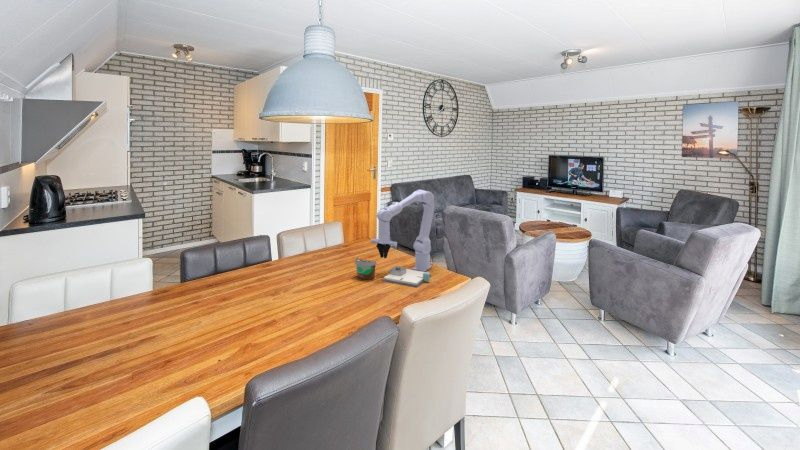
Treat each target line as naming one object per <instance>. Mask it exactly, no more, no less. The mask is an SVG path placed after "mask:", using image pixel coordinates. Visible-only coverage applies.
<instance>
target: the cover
mask: <svg viewBox="0 0 800 450" xmlns="http://www.w3.org/2000/svg"><path fill="white" fill-rule="evenodd" d="M406 269H407V267H402V266H399V265H398V266H394V267H391V268H390V269H389V274H391V275H397V276H402V275H403V274H405V273H406Z"/></svg>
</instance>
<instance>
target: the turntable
mask: <svg viewBox="0 0 800 450" xmlns="http://www.w3.org/2000/svg"><path fill="white" fill-rule="evenodd" d="M430 275H431V272H428V271H420V270H414V269H409V268H406V273H405V274H403V275H402V276H397V275H391V274H390V273H388V274H387V275H385V276H384V277H383V279H386V280H391V281H397V282H402V283H408V284H413V285H417V284H419V283H420V282H421V281H422V280H424V281H425V282H429V281H431V280H430V279H431V277H430Z"/></svg>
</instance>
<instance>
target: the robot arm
mask: <svg viewBox="0 0 800 450" xmlns="http://www.w3.org/2000/svg"><path fill="white" fill-rule="evenodd" d="M434 199H435V195H434V194H433V193H432V192H431V191H429V190H424V189H417V190H415V191H413V192H412V193H411V194H410V195H408V196H406V198H404V199H402V200H401V201H392V203H391V204H390V205H389V206H385V207H384V209H380V210H379V211H378V212H377V214H376V218H377V219H378V238H371V239H370V243H371V244H376V245H375V246H376V249H377V250H378V252H379V256H380V258H381V259H382V258H383V259H386V258H388V254H389V251H390V249H391V247H392V246H393V247H397V246H398V242H397V241H393V240H390V221H391V220H392V218H393V217H395V216H397V215H398V214H399V213H402V212H403V208H406V207H407V206H409V205H411V204H413V203H414V202H416V203H417V202H419V203H421V206H423V213H422V217H421V218H422V219H421V224H420V230H419V235H418V236H417V237H416V238H415V241H414V242H413V244H412V247H413V250H415V251H414V253H415V257H414V264H415V265H414V267H412V268H411V270H416V271H422V272H428V270H429V269H431V268H432V266H431V255H430V253H431V251H432V246H431V244H432V243H431V239H430V232H431V229H432V223H433V217H434V212H435V208H436V205H435V200H434Z"/></svg>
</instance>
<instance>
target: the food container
mask: <svg viewBox="0 0 800 450" xmlns="http://www.w3.org/2000/svg"><path fill="white" fill-rule="evenodd" d="M354 264H355V268H356V277H357V280H360V281H372V280H374V279H375V274H376V273H375V272H376V265H377V260H373V261H372V260H368V259H360V258H358V257H356V258H355V260H354Z"/></svg>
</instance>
